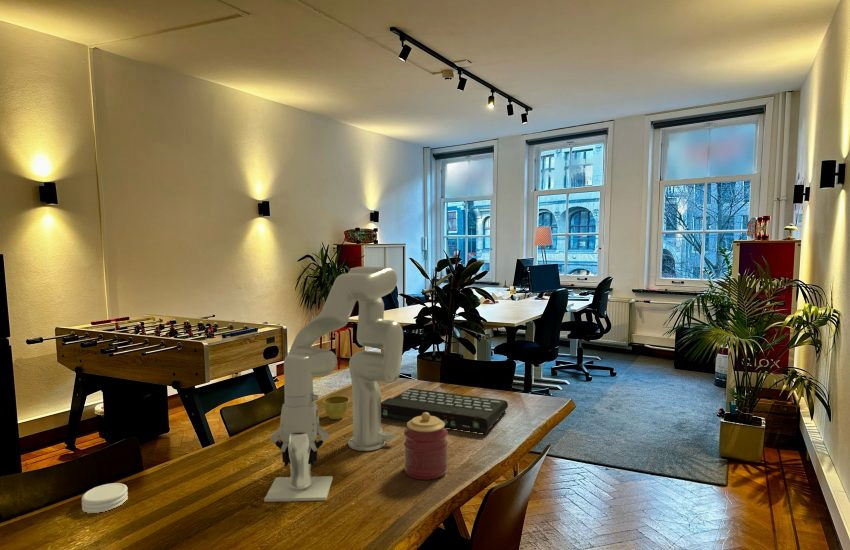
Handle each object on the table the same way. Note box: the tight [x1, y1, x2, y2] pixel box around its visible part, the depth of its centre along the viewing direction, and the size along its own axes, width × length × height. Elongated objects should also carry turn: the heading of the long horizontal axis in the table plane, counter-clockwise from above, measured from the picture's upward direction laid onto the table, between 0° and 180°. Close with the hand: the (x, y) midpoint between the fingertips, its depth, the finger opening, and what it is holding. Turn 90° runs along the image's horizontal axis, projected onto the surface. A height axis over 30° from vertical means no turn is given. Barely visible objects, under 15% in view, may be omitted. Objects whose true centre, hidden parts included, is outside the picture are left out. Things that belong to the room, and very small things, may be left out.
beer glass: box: [287, 433, 313, 489], centre depth 134 cm, size 7×7×15 cm
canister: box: [403, 412, 449, 481], centre depth 145 cm, size 13×13×18 cm
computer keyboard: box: [381, 388, 509, 435], centre depth 195 cm, size 45×28×7 cm, turn 66°
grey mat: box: [263, 475, 333, 503], centre depth 134 cm, size 16×12×1 cm
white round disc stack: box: [81, 482, 129, 514], centre depth 127 cm, size 10×10×4 cm
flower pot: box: [322, 395, 350, 420], centre depth 192 cm, size 10×10×7 cm
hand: (300, 463), depth 134 cm, fingers closed on beer glass, 6 cm apart
